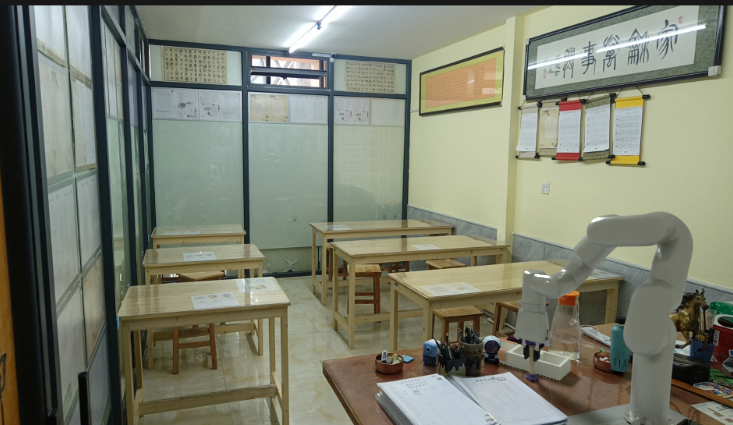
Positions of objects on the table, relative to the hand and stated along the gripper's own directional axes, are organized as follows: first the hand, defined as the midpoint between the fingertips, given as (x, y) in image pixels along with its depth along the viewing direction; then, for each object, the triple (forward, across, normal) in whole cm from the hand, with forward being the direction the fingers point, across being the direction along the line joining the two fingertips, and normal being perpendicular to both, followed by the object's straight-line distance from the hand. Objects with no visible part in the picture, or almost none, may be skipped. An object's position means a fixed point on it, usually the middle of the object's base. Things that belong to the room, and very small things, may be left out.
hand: (531, 358), depth 162 cm
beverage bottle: (+7, +21, +26) cm, 34 cm away
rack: (+7, -6, +10) cm, 14 cm away
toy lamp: (+7, 0, 0) cm, 7 cm away
